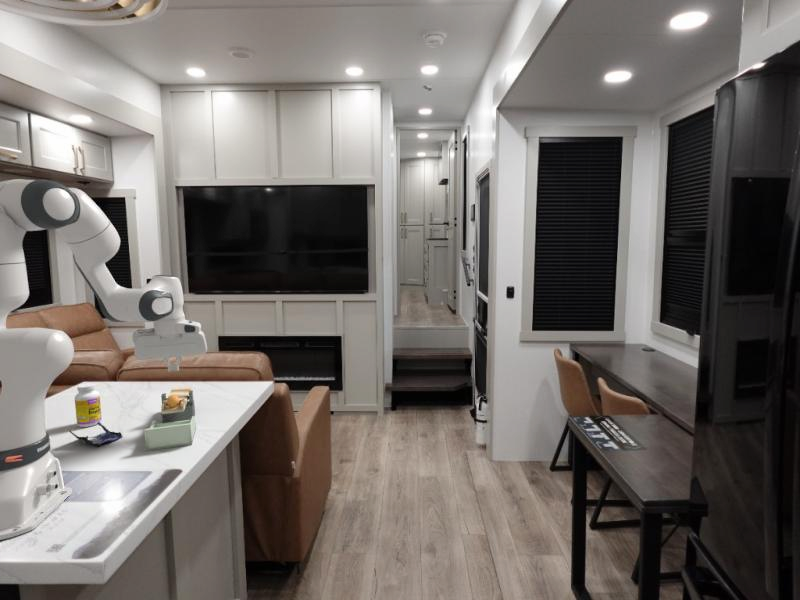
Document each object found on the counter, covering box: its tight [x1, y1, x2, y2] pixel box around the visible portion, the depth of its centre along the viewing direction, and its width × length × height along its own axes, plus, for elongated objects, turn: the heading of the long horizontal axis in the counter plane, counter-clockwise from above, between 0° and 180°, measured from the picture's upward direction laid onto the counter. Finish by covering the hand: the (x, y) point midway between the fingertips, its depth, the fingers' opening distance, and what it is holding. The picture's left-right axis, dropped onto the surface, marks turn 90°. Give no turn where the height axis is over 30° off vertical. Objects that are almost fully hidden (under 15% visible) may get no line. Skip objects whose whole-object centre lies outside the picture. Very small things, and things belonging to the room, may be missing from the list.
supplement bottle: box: [74, 382, 103, 428], centre depth 148 cm, size 7×7×13 cm
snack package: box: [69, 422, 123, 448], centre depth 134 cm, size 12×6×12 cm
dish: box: [143, 415, 197, 452], centre depth 135 cm, size 13×12×6 cm
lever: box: [160, 385, 192, 415], centre depth 150 cm, size 24×7×5 cm, turn 19°
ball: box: [167, 396, 180, 407], centre depth 141 cm, size 4×4×4 cm
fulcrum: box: [161, 389, 196, 423], centre depth 150 cm, size 6×9×9 cm, turn 109°
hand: (173, 370), depth 144 cm, fingers closed
